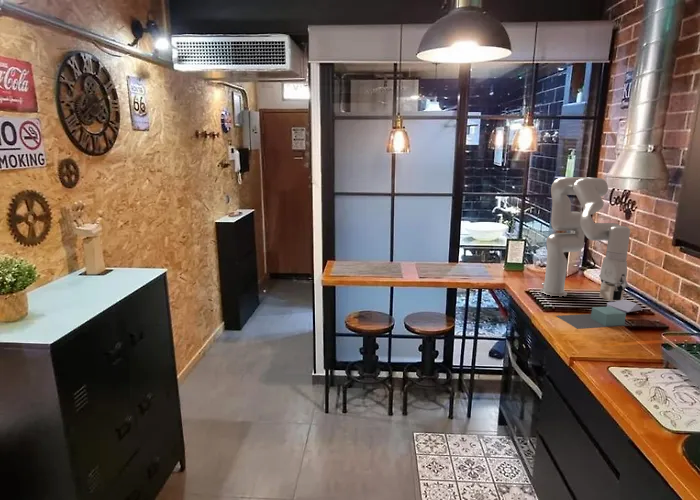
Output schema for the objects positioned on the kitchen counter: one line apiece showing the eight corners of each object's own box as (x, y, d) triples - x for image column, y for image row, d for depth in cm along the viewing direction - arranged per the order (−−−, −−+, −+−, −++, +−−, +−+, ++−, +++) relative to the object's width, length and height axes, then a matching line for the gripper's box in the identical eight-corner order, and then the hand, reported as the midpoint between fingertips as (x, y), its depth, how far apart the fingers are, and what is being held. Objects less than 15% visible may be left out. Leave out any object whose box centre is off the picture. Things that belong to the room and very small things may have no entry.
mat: (555, 317, 202) (555, 315, 202) (604, 315, 206) (604, 313, 206) (577, 331, 188) (577, 328, 187) (629, 327, 191) (629, 325, 191)
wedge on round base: (641, 316, 205) (615, 307, 216) (643, 302, 203) (617, 293, 215) (627, 319, 201) (601, 309, 213) (629, 304, 200) (603, 296, 212)
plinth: (590, 318, 199) (592, 307, 198) (609, 317, 201) (610, 306, 199) (605, 326, 190) (606, 314, 189) (624, 324, 192) (626, 313, 191)
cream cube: (599, 296, 195) (601, 283, 194) (612, 295, 196) (613, 282, 195) (609, 300, 190) (611, 287, 188) (622, 300, 191) (624, 286, 189)
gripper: (594, 251, 197) (589, 291, 201) (623, 260, 180) (617, 304, 184) (609, 251, 198) (604, 291, 202) (640, 260, 181) (634, 303, 185)
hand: (610, 297), depth 193 cm, fingers closed on cream cube, 6 cm apart
